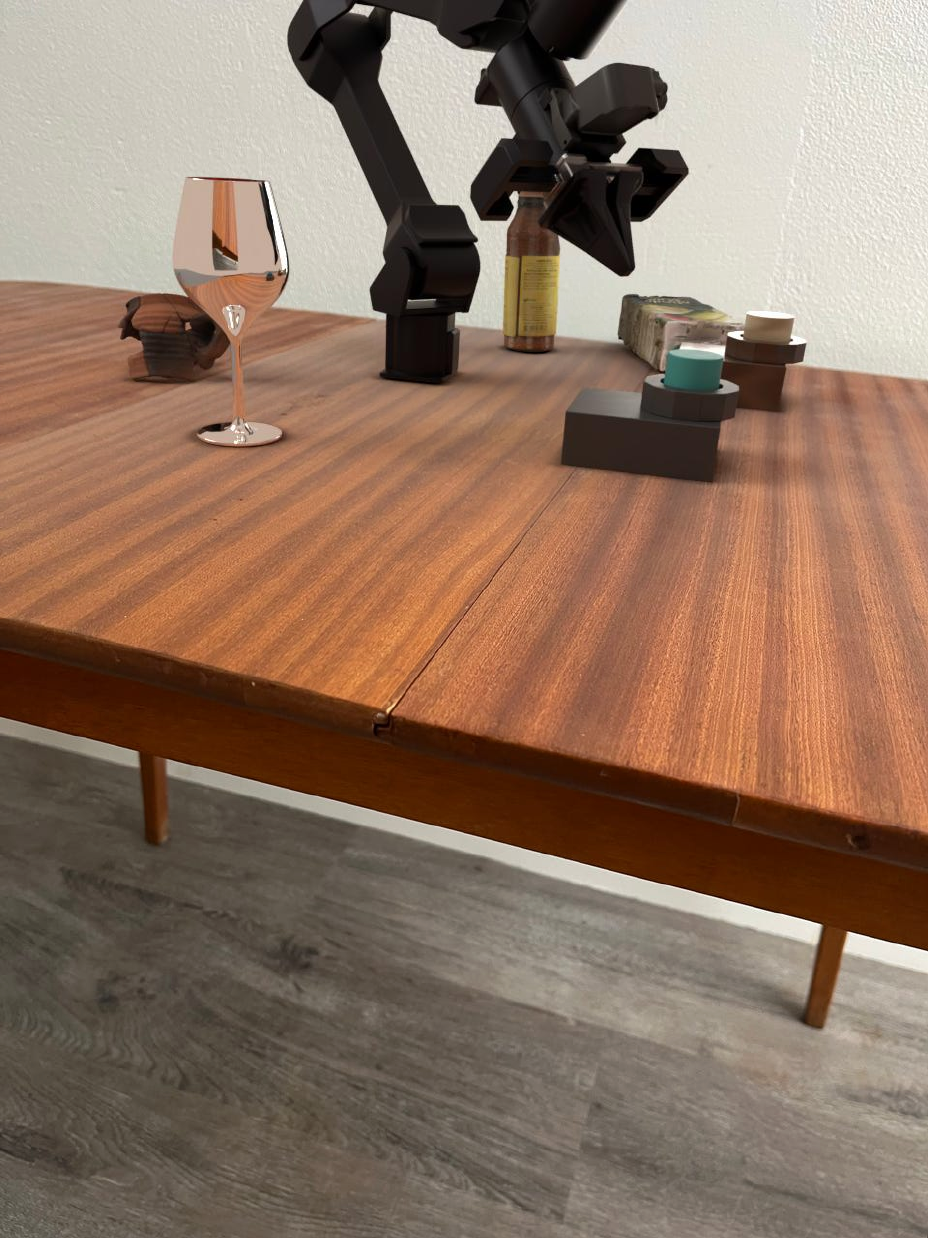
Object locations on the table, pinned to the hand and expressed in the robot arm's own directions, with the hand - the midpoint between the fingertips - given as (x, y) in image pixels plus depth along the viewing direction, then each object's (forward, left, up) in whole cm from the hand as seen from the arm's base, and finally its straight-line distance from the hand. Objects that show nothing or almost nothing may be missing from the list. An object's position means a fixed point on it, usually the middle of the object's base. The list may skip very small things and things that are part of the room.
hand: (628, 272), depth 75 cm
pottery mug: (-42, +6, -13) cm, 45 cm away
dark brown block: (+3, -5, -13) cm, 14 cm away
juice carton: (+3, +40, -13) cm, 42 cm away
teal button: (+6, -5, -7) cm, 11 cm away
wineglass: (-27, -12, -13) cm, 32 cm away
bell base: (+9, +21, -13) cm, 26 cm away
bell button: (+12, +21, -7) cm, 25 cm away
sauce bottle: (-14, +37, -13) cm, 42 cm away
